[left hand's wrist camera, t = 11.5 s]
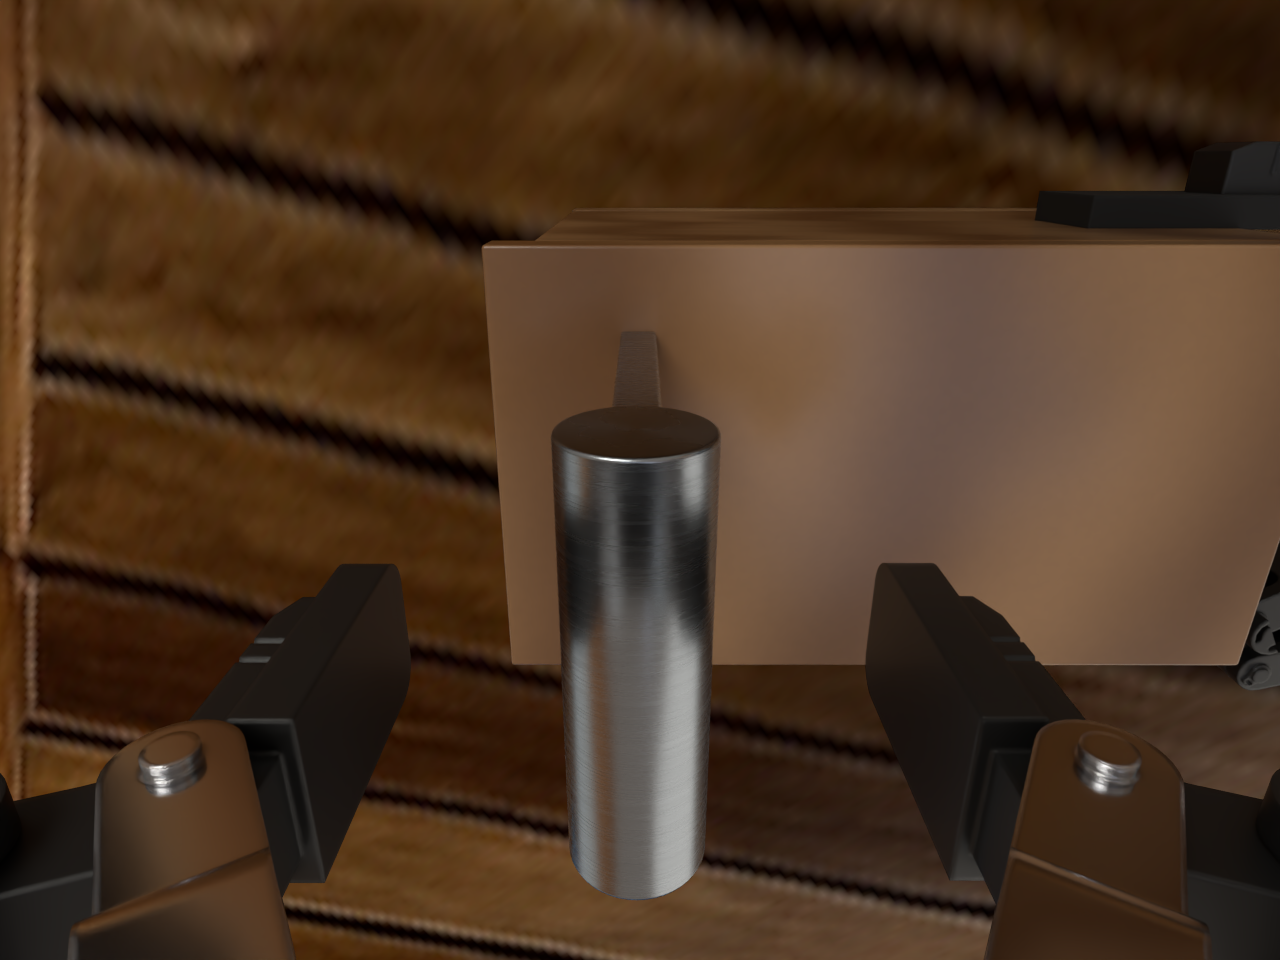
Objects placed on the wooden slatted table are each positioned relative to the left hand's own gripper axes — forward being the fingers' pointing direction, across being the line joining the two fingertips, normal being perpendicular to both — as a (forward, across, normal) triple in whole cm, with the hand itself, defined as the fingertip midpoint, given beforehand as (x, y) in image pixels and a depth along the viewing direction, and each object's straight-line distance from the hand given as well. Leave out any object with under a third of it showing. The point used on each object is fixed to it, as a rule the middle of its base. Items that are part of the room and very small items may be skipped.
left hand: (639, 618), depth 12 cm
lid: (+6, +6, 0) cm, 8 cm away
